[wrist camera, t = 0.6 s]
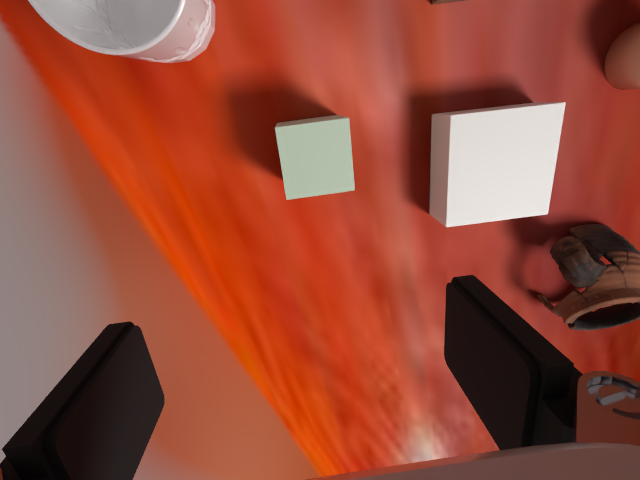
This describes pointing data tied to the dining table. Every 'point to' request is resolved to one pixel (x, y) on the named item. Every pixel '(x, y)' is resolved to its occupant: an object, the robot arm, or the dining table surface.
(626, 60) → the glossy beige egg
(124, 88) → the dining table surface
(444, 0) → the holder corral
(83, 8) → the white cup
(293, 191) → the green block
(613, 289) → the pottery mug
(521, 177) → the base slab
